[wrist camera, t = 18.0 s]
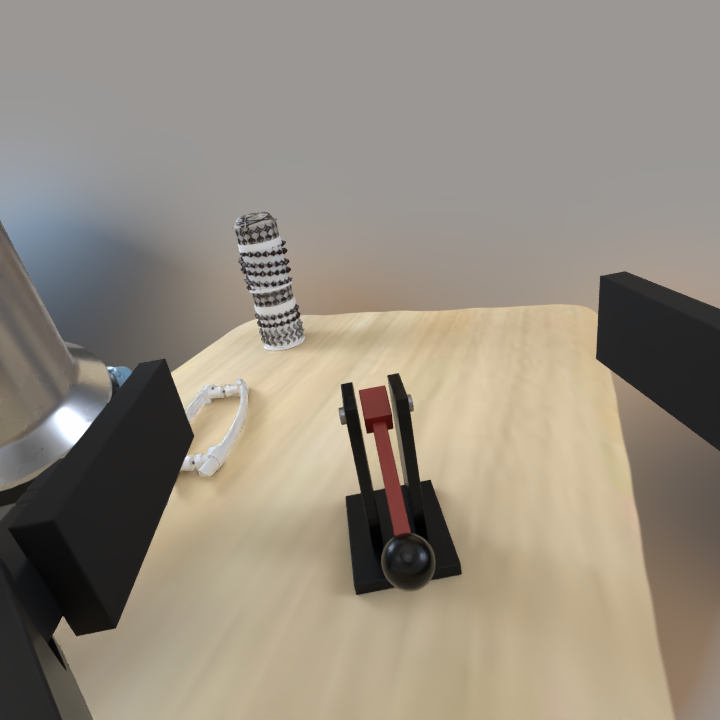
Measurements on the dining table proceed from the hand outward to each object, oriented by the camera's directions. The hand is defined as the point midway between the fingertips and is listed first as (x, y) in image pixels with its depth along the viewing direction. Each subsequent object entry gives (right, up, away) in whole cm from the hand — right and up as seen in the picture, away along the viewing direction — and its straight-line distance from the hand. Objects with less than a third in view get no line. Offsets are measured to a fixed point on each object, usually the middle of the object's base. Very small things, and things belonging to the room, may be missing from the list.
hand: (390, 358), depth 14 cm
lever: (+2, -10, +22) cm, 24 cm away
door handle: (-22, -10, +54) cm, 59 cm away
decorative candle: (-16, +3, +81) cm, 83 cm away
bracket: (+3, -17, +30) cm, 35 cm away
